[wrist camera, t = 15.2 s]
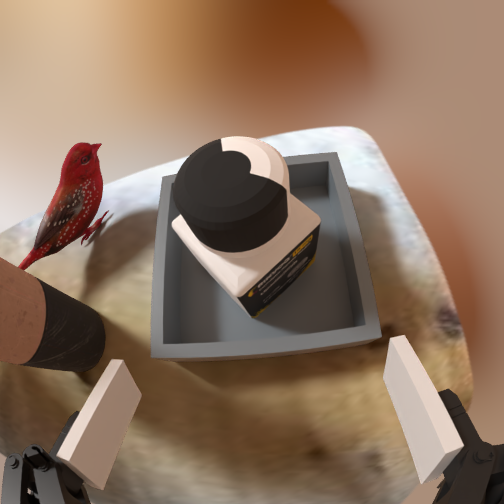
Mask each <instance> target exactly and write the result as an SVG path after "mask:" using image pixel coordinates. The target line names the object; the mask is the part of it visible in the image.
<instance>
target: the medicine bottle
mask: <svg viewBox="0 0 504 504" xmlns="http://www.w3.org/2000/svg"><path fill="white" fill-rule="evenodd" d="M173 199H174V202H175V205H176V207H177V209H178V211H179V213H180V215H179V216H178V217H177V218H176V219H174V220H173V222H172V227H173V229H174V230H175V232H176V233H177V234H178V236H179V237H180V238H181V239H182V241H183V242H184V243H185V245H186V246H187V247H188V249H189V250H190V251H191V252H192V254H193V255H194V256H195V257H196V259H197V260H198V261H199V263H200V264H201V265H202V266H203V267H204V268H205V269H206V270H207V271H208V273H209V274H210V275H211V276H212V277H213V278H214V279H215V280H216V281H217V282H218V284H219V285H220V286H221V287H222V288H223V289H224V290H225V291H226V292H227V293H228V294H229V295H230V297H231V298H232V299H233V300H234V301H235V302H236V303H237V304H238V305H239V306H240V307H241V308H242V309H243V310H244V311H245V312H246V314H247V315H248V316H249V317H251V318H256V317H257V316H258V315H259V314H260V313H262V312H263V311H264V310H265V309H266V308H267V307H268V306H269V305H270V304H271V303H272V302H273V301H274V300H275V299H276V298H278V297H279V296H280V295H281V294H282V293H283V292H284V291H285V290H286V289H287V288H288V287H289V286H290V285H291V284H292V283H293V282H294V281H295V280H296V279H297V278H298V277H299V276H300V275H301V274H302V273H304V272H305V271H306V270H307V269H308V268H309V267H310V266H311V265H312V264H313V263H314V261H315V256H316V250H317V244H318V237H319V230H320V223H321V219H320V217H319V216H318V215H317V214H316V213H315V212H313V211H312V210H311V209H310V208H308V207H307V206H306V205H305V204H303V203H302V202H301V201H300V200H298V199H297V198H296V197H294V196H293V195H292V194H290V187H289V172H288V167H287V164H286V162H285V160H284V158H283V157H282V155H281V154H280V153H279V152H278V151H277V150H276V149H275V148H273V147H272V146H270V145H269V144H267V143H265V142H262V141H260V140H257V139H254V138H250V137H239V136H235V137H226V138H221V139H218V140H215V141H212V142H210V143H208V144H206V145H204V146H202V147H200V148H199V149H197V150H196V151H195V152H194V153H192V154H191V155H190V156H189V157H188V158H187V159H186V161H185V162H184V163H183V164H182V166H181V168H180V170H179V171H178V173H177V175H176V178H175V181H174V185H173Z"/></svg>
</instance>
